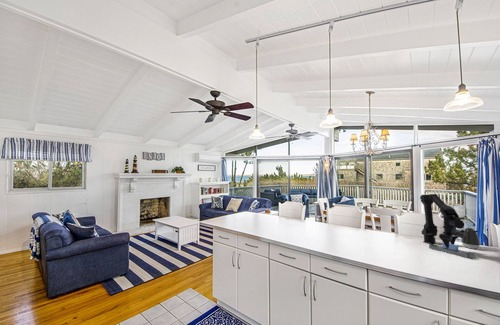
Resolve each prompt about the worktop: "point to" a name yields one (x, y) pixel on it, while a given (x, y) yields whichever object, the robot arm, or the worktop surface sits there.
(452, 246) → the blue notched pillar
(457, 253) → the rail
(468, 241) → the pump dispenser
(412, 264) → the worktop surface
